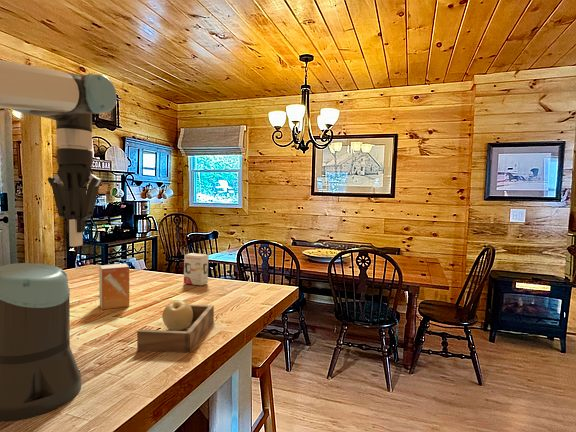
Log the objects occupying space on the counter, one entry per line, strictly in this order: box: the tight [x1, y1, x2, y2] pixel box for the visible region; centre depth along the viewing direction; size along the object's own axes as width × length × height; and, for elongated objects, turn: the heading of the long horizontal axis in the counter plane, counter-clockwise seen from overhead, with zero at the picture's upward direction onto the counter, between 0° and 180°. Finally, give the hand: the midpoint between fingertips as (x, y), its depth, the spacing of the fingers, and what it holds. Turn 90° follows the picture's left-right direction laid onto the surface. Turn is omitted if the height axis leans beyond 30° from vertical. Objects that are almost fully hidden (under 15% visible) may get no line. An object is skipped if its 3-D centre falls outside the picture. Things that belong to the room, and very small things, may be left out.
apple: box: [161, 299, 193, 331], centre depth 99 cm, size 8×8×8 cm
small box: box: [98, 262, 130, 310], centre depth 119 cm, size 8×6×13 cm
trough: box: [136, 304, 215, 353], centre depth 96 cm, size 21×12×4 cm, turn 177°
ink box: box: [183, 252, 209, 286], centre depth 149 cm, size 9×5×12 cm, turn 70°
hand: (76, 245), depth 91 cm, fingers closed
